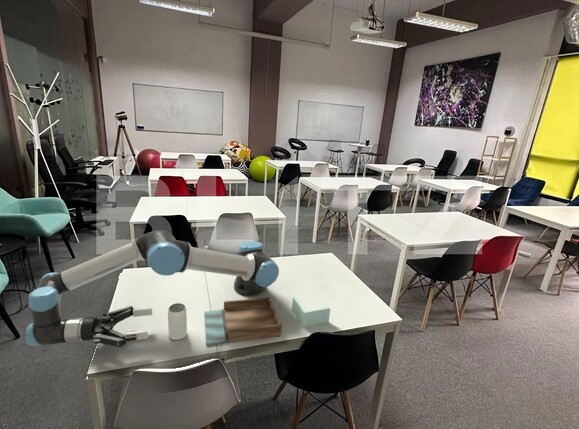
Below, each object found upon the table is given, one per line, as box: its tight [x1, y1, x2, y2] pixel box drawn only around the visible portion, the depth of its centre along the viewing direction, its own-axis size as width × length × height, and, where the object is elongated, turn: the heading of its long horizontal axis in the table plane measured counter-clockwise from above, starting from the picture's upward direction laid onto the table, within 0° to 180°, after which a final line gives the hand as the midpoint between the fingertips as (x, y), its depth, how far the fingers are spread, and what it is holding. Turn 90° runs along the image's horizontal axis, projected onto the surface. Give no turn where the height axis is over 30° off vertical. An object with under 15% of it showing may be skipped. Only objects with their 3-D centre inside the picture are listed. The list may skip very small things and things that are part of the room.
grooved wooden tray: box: [204, 296, 282, 347], centre depth 129 cm, size 20×28×5 cm
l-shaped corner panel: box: [291, 296, 331, 328], centre depth 137 cm, size 12×12×8 cm
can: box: [167, 302, 188, 341], centre depth 119 cm, size 6×6×12 cm
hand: (149, 322), depth 116 cm, fingers open, 13 cm apart
